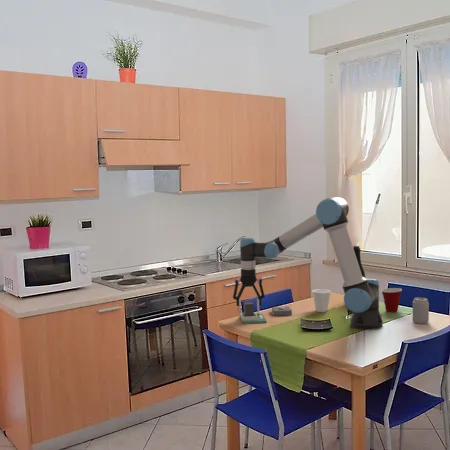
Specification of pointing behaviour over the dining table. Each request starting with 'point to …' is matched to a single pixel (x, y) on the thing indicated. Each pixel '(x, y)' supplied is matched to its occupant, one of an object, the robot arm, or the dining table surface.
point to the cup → (321, 299)
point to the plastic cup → (391, 299)
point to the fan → (281, 311)
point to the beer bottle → (359, 259)
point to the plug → (248, 309)
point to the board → (253, 318)
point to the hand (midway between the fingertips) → (249, 311)
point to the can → (420, 310)
